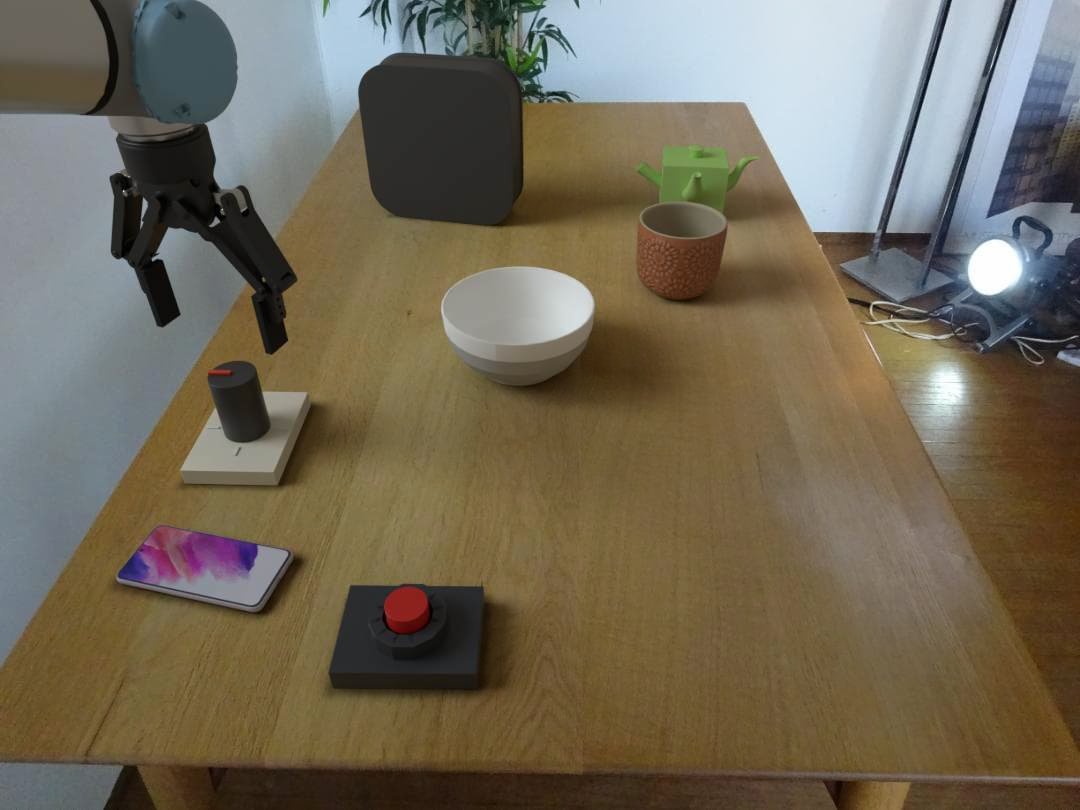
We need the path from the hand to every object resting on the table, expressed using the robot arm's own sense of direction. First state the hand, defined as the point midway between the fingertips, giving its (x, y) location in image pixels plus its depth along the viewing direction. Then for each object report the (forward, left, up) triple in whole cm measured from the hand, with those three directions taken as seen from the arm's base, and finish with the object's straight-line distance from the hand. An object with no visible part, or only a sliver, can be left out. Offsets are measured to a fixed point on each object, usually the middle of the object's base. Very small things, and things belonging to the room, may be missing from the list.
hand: (222, 333), depth 83 cm
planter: (+36, +52, -15) cm, 65 cm away
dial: (0, 0, -12) cm, 12 cm away
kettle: (+32, +79, -15) cm, 86 cm away
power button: (+30, -17, -11) cm, 36 cm away
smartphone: (+8, -17, -15) cm, 24 cm away
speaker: (-7, +64, -15) cm, 66 cm away
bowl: (+22, +26, -15) cm, 37 cm away
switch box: (+30, -17, -15) cm, 37 cm away
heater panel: (0, 0, -15) cm, 15 cm away
